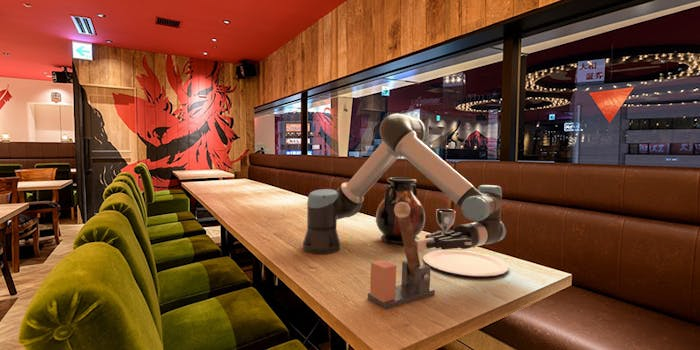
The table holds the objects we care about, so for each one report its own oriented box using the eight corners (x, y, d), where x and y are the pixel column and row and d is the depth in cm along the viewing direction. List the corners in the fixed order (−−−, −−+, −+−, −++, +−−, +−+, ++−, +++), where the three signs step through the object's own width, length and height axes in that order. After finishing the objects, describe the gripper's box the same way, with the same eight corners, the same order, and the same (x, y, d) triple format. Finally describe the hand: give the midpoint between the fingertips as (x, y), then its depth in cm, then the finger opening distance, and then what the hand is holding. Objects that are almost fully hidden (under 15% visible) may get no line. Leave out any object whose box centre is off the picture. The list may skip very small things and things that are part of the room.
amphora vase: (398, 233, 173) (400, 175, 171) (434, 243, 157) (437, 179, 154) (365, 239, 160) (366, 177, 158) (400, 251, 143) (403, 181, 141)
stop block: (381, 291, 99) (382, 259, 98) (395, 299, 94) (396, 265, 94) (370, 294, 97) (371, 262, 96) (383, 302, 92) (384, 268, 91)
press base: (414, 285, 108) (415, 257, 108) (436, 295, 101) (437, 266, 100) (366, 297, 98) (367, 267, 98) (386, 310, 91) (388, 277, 90)
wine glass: (454, 248, 150) (456, 212, 149) (435, 246, 152) (436, 211, 150) (453, 243, 158) (454, 209, 157) (434, 241, 159) (436, 208, 158)
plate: (454, 249, 149) (454, 245, 149) (524, 269, 127) (524, 264, 126) (406, 262, 131) (406, 257, 131) (478, 287, 108) (478, 282, 108)
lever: (416, 269, 105) (401, 198, 99) (427, 274, 101) (412, 200, 96) (405, 276, 103) (389, 204, 97) (416, 281, 99) (400, 206, 94)
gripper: (486, 252, 109) (433, 265, 96) (452, 242, 120) (399, 252, 106) (487, 228, 108) (434, 237, 95) (453, 220, 119) (400, 228, 106)
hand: (416, 245), depth 101 cm, fingers closed
